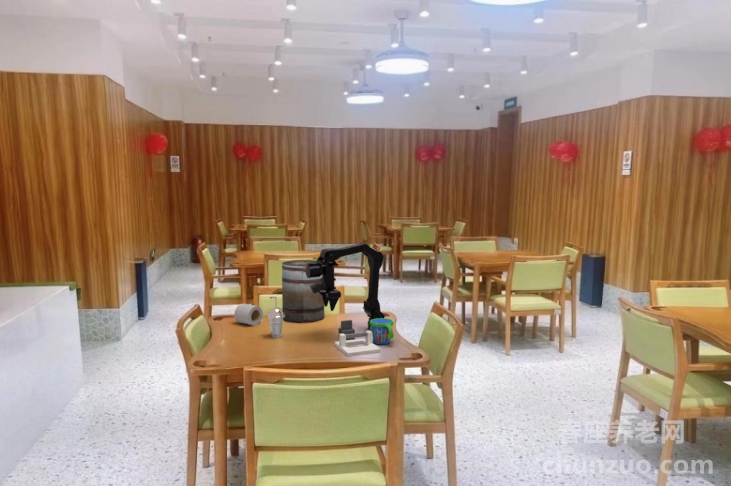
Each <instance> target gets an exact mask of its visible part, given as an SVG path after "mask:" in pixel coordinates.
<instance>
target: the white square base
mask: <svg viewBox="0 0 731 486" xmlns="http://www.w3.org/2000/svg"><path fill="white" fill-rule="evenodd" d="M364 337H365V338H364ZM348 338H355V340H346V339H348ZM356 338H357V339H356ZM359 345H361V346H359ZM334 346H335V347H336V348H337V349H339V350H340V351H341V352H342V353H343V354H344V355H346V356H347V357H355V356H361V355H362V356H363V355H371V354H377V353H381V352H382V350H381V347H379V346H378V345H377V344H375V343H374V342H373V336H372V332H371V331H369V330H365V331H363V332H355V333H353V334H339V338H338V341H335V342H334ZM349 346H353V347H349Z"/></svg>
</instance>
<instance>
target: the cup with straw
mask: <svg viewBox="0 0 731 486" xmlns="http://www.w3.org/2000/svg"><path fill="white" fill-rule="evenodd" d="M269 298H270V299H274V307H273V308H271V309H270V310H269V311H268V313H267V316H266V317H267V318H268V322H269V327H270V334H271V338H273V339H275V338H276V339H279V338H281V337H282V331H283V330H282V329H283V323H284V320H283V318H284V317H285V314H284V313H283V311H282V308H280V307H277V303H278V301H277V296H269Z"/></svg>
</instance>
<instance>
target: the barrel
mask: <svg viewBox="0 0 731 486" xmlns="http://www.w3.org/2000/svg"><path fill="white" fill-rule="evenodd" d="M316 261H317V260H315V259H314V260H311V259H298V260H297V259H296V260H287V261H283V262H281V291H282V292H281V294H282V295H281V296H282V298H281V299H282V300H281V304H282V305H281V306H282V307H281V310H282V311H283V313H284V314H285V317H284V318H283V322H284V321H285V322H287V323H292V324H312V323H317V322H321V321H323V320H324V319H325V305H324V302H323V298H322V295H321V294H320V293H318V292H317V293H315V294H314V293H313V292H312V290H311V288H310V286H311V285H312V284H315V283H317V282H320V279H321V278H322V275H321V276H320V277H313V278H307V276H306V272H305V270H306V267H307V263H316Z"/></svg>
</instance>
